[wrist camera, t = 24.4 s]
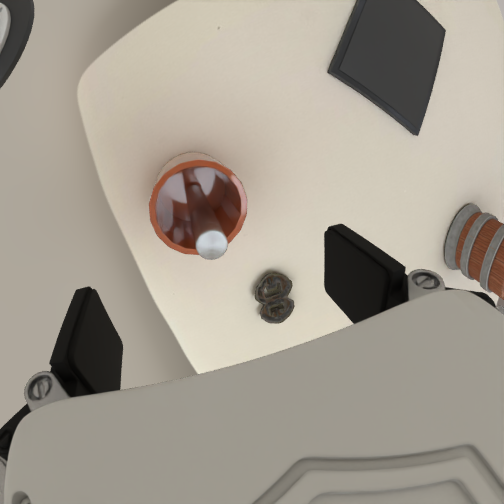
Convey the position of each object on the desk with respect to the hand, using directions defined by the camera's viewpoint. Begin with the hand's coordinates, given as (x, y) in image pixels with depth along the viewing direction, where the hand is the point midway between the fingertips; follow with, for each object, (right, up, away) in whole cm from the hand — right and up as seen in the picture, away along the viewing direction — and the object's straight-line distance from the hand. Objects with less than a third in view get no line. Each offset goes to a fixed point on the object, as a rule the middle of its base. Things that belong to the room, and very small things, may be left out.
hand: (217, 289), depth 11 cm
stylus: (-5, +7, +17) cm, 19 cm away
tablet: (+21, +29, +15) cm, 39 cm away
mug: (+46, +5, +34) cm, 57 cm away
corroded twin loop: (+4, -4, +26) cm, 27 cm away
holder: (-5, +8, +18) cm, 20 cm away
